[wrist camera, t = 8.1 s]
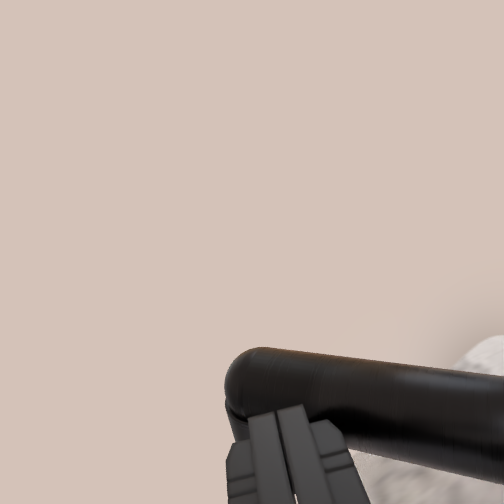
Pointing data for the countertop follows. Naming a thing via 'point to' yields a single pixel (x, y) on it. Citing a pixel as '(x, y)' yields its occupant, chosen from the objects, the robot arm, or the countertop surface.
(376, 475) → the countertop surface
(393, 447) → the spout
